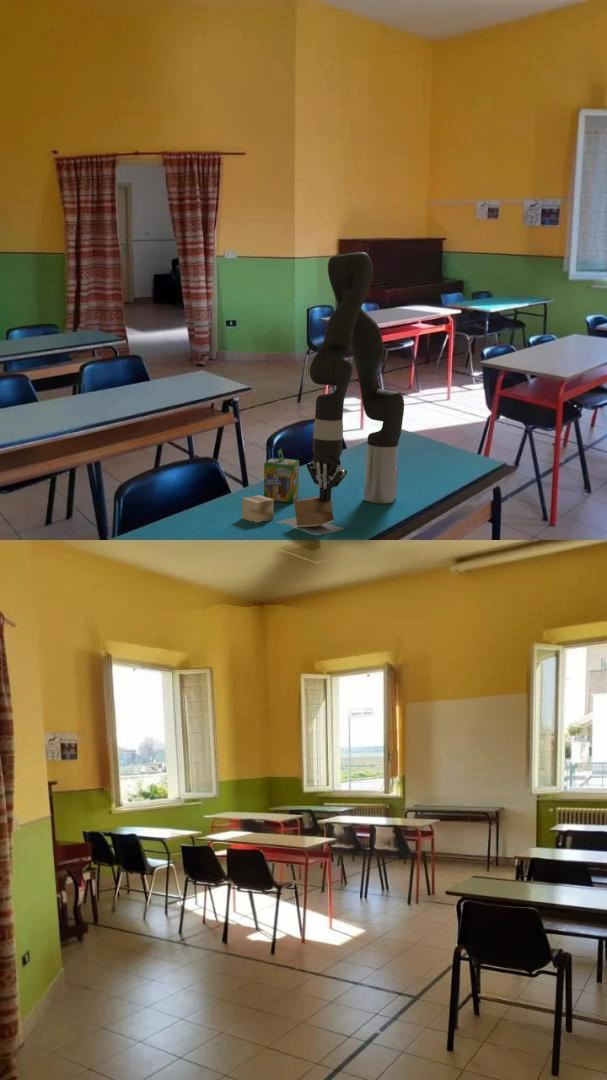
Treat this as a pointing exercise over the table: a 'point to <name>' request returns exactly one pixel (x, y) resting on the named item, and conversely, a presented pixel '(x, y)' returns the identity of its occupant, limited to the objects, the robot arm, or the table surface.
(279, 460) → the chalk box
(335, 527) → the reading mat
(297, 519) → the walnut block
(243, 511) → the beech block
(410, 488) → the table surface
